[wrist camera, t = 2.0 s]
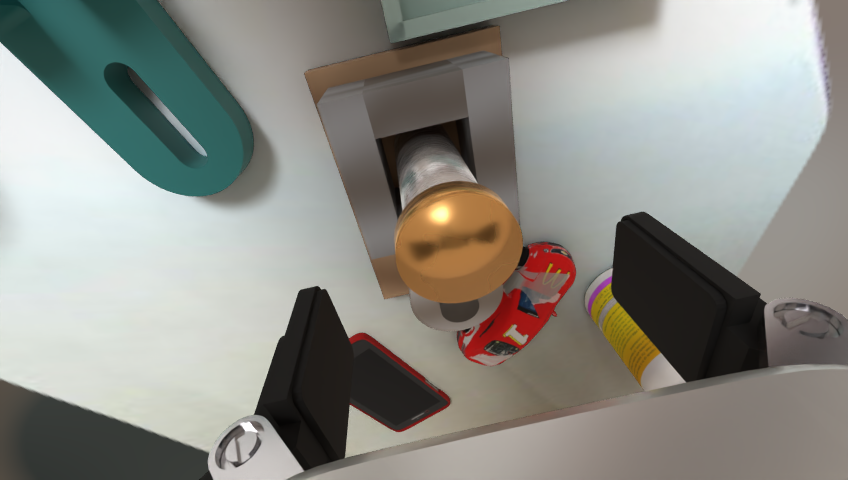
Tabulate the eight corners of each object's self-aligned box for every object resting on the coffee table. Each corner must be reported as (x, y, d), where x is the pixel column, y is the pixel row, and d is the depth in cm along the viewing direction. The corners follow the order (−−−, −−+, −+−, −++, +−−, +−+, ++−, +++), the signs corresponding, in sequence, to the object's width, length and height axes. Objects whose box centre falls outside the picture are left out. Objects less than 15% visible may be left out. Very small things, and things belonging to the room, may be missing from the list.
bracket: (-133, -133, 15) (-525, -247, 9) (-26, -236, 14) (-378, -457, 8) (196, 198, 25) (129, 266, 18) (277, 151, 23) (237, 205, 17)
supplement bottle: (574, 318, 35) (664, 455, 24) (590, 263, 31) (703, 394, 20) (639, 312, 35) (756, 443, 24) (662, 257, 32) (809, 381, 21)
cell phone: (362, 326, 33) (362, 334, 32) (452, 396, 40) (454, 404, 39) (302, 366, 35) (300, 375, 34) (398, 426, 42) (398, 434, 41)
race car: (533, 226, 29) (553, 254, 26) (579, 252, 31) (604, 280, 28) (444, 333, 34) (452, 367, 31) (489, 349, 36) (501, 383, 33)
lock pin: (378, 119, 21) (380, 214, 11) (450, 102, 21) (518, 181, 11) (396, 185, 24) (411, 314, 13) (461, 170, 24) (525, 288, 13)
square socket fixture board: (308, 70, 21) (278, 92, 15) (492, 25, 21) (542, 28, 14) (384, 287, 30) (386, 359, 24) (512, 257, 30) (548, 322, 24)
